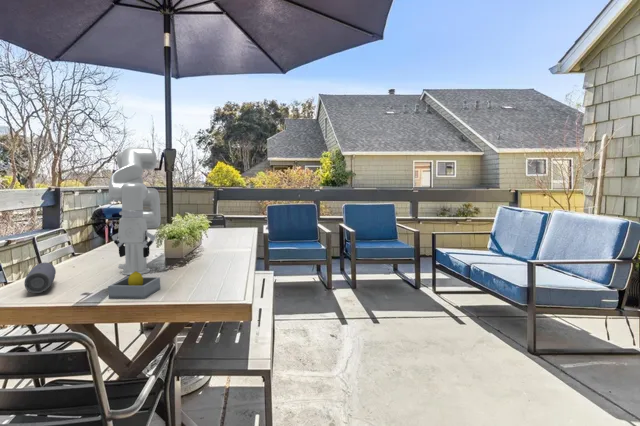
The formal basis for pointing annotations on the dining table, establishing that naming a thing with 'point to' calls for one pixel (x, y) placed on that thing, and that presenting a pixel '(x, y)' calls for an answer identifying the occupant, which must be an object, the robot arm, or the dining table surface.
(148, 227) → the robot arm
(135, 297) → the grey shallow tray
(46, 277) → the bluetooth speaker
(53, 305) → the dining table surface
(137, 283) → the lemon
